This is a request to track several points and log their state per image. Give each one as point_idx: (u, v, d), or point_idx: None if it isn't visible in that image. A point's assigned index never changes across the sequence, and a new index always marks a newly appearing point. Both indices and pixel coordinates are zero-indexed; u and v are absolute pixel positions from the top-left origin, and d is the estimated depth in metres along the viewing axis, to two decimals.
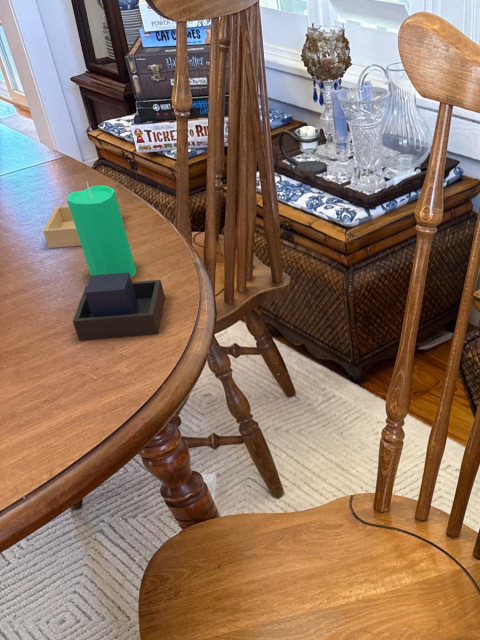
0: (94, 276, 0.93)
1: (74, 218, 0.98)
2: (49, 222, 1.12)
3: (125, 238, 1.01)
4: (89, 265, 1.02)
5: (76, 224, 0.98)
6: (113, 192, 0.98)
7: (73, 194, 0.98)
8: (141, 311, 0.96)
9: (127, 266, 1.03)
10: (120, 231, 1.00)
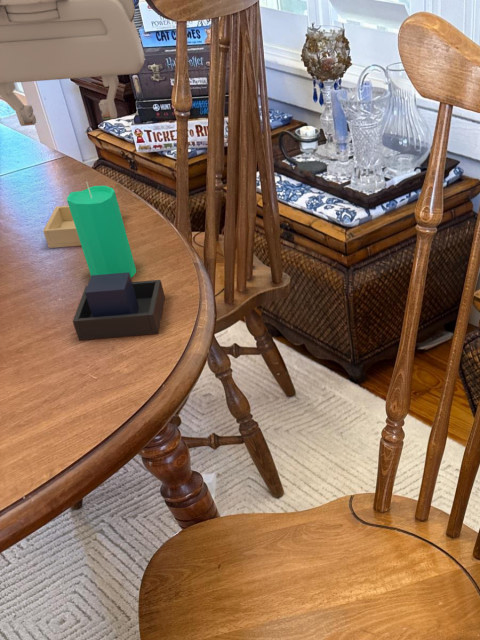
0: (94, 276, 0.93)
1: (74, 218, 0.98)
2: (49, 222, 1.12)
3: (125, 238, 1.01)
4: (89, 265, 1.02)
5: (76, 224, 0.98)
6: (113, 192, 0.98)
7: (73, 194, 0.98)
8: (141, 311, 0.96)
9: (127, 266, 1.03)
10: (120, 231, 1.00)
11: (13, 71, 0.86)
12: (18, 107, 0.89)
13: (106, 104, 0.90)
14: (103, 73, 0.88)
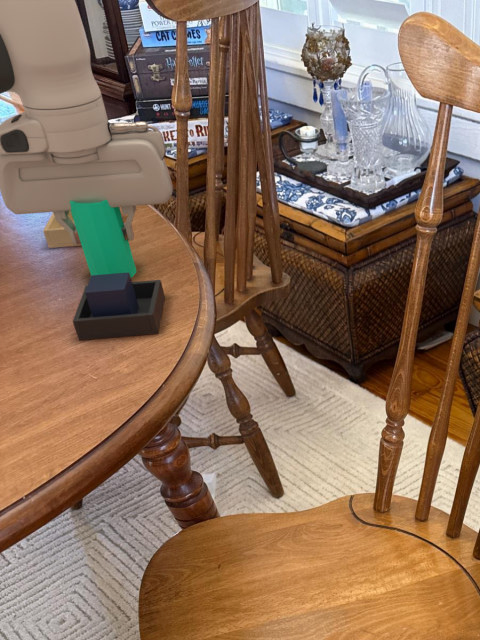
0: (94, 276, 0.93)
1: (74, 218, 0.98)
2: (49, 222, 1.12)
3: None
4: (89, 265, 1.02)
5: (76, 224, 0.98)
6: None
7: None
8: (141, 311, 0.96)
9: (127, 266, 1.03)
10: (120, 231, 1.00)
11: (55, 203, 0.96)
12: (72, 229, 0.99)
13: (125, 229, 1.00)
14: (136, 203, 0.98)
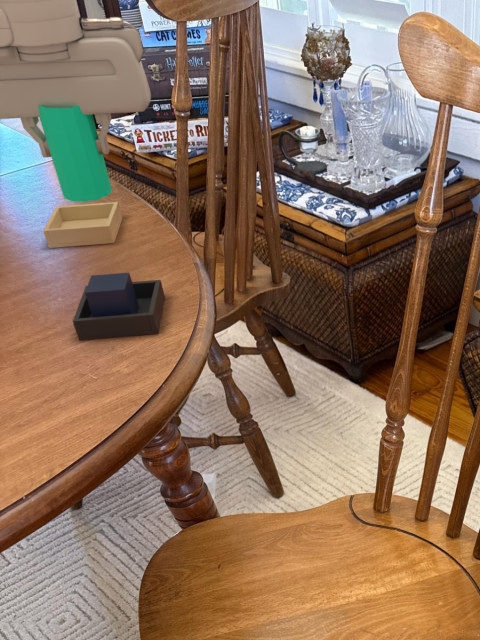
0: (94, 276, 0.93)
1: (44, 126, 0.90)
2: (49, 222, 1.12)
3: None
4: (60, 180, 0.95)
5: (46, 133, 0.91)
6: None
7: None
8: (141, 311, 0.96)
9: (102, 183, 0.96)
10: (94, 143, 0.93)
11: (23, 107, 0.89)
12: (41, 139, 0.92)
13: (99, 140, 0.93)
14: (110, 111, 0.90)
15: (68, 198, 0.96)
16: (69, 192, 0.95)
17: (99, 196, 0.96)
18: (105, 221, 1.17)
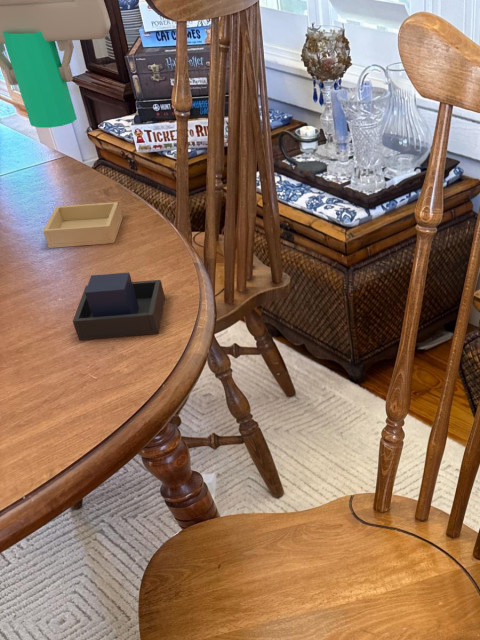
0: (94, 276, 0.93)
1: (9, 52, 0.96)
2: (49, 222, 1.12)
3: None
4: (26, 107, 1.00)
5: (11, 59, 0.96)
6: None
7: None
8: (141, 311, 0.96)
9: (66, 110, 1.01)
10: (57, 70, 0.98)
11: None
12: (7, 67, 0.97)
13: (62, 67, 0.98)
14: (71, 37, 0.96)
15: (34, 124, 1.01)
16: (35, 118, 1.00)
17: (63, 122, 1.01)
18: (105, 221, 1.17)
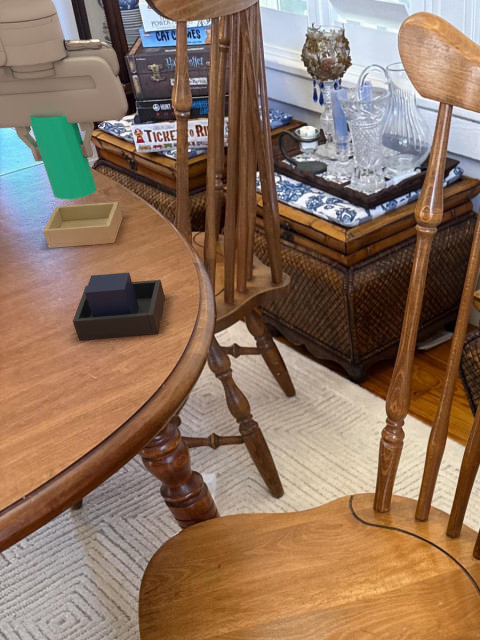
0: (94, 276, 0.93)
1: (35, 133, 1.04)
2: (49, 222, 1.12)
3: None
4: (51, 181, 1.08)
5: (37, 139, 1.05)
6: None
7: None
8: (141, 311, 0.96)
9: (87, 182, 1.09)
10: (79, 148, 1.06)
11: (16, 118, 1.03)
12: (33, 146, 1.06)
13: (83, 145, 1.07)
14: (92, 119, 1.04)
15: (58, 196, 1.09)
16: (58, 191, 1.09)
17: (85, 194, 1.10)
18: (105, 221, 1.17)
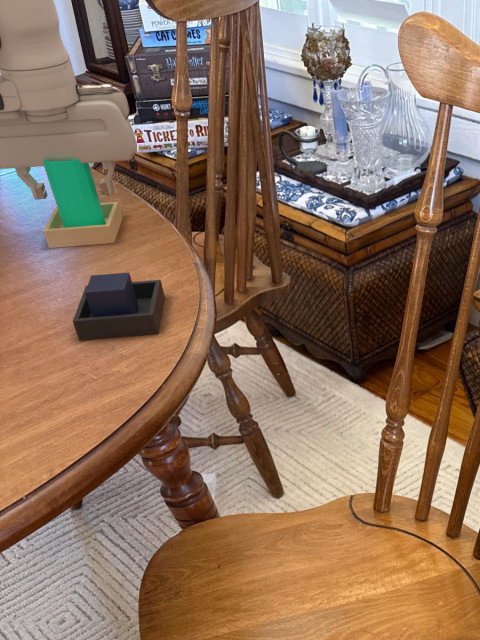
0: (94, 276, 0.93)
1: (48, 176, 1.08)
2: (49, 222, 1.12)
3: (95, 195, 1.12)
4: (63, 220, 1.12)
5: (50, 181, 1.08)
6: None
7: None
8: (141, 311, 0.96)
9: (98, 221, 1.13)
10: (90, 189, 1.10)
11: (29, 158, 1.06)
12: (33, 185, 1.09)
13: (105, 183, 1.10)
14: (103, 160, 1.07)
15: None
16: None
17: None
18: (105, 221, 1.17)
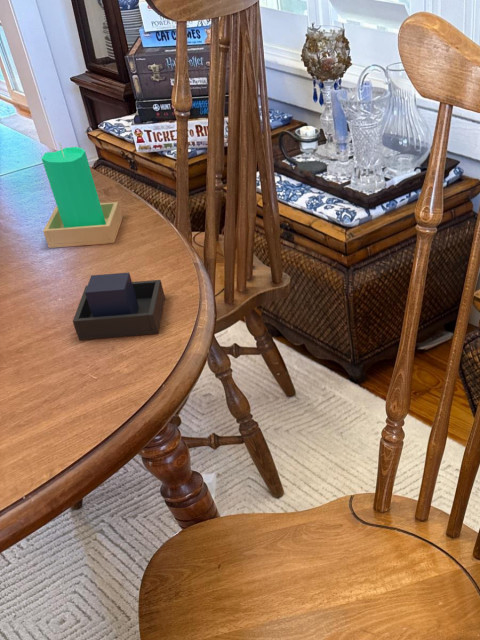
0: (94, 276, 0.93)
1: (48, 176, 1.08)
2: (49, 222, 1.12)
3: (95, 195, 1.12)
4: (63, 220, 1.12)
5: (50, 181, 1.08)
6: (84, 152, 1.08)
7: (47, 154, 1.08)
8: (141, 311, 0.96)
9: (98, 221, 1.13)
10: (90, 189, 1.10)
11: None
12: None
13: None
14: None
15: None
16: None
17: None
18: (105, 221, 1.17)
